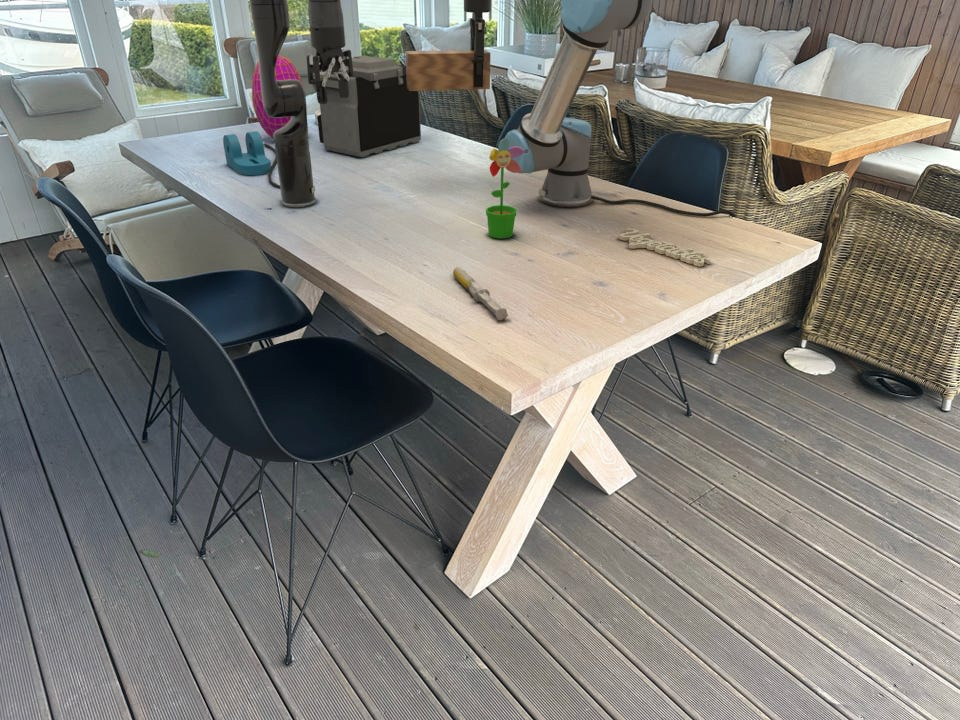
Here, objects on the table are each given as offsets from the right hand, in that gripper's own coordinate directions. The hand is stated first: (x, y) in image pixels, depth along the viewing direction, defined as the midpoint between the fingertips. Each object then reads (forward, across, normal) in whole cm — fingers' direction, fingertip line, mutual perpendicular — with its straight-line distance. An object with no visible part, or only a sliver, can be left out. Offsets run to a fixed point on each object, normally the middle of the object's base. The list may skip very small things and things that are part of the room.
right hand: (476, 84), depth 201 cm
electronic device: (+30, -53, -34) cm, 70 cm away
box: (+1, +1, -8) cm, 8 cm away
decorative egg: (+30, -65, -67) cm, 98 cm away
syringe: (+29, +82, -9) cm, 88 cm away
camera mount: (+30, -24, -73) cm, 82 cm away
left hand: (-3, +40, -38) cm, 56 cm away
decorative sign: (+29, +59, +39) cm, 77 cm away
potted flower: (+29, +46, +2) cm, 54 cm away
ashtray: (+30, -97, -46) cm, 112 cm away
